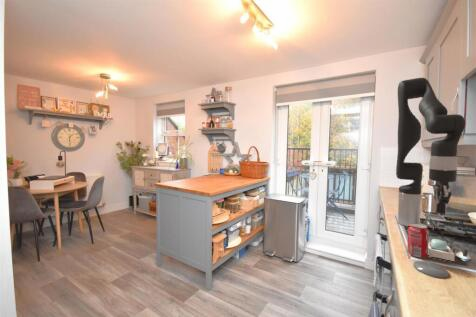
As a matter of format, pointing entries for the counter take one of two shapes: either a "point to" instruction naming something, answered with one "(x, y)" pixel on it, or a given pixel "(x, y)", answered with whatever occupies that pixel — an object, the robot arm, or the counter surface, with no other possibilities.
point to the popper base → (441, 253)
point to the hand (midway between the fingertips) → (440, 213)
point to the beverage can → (418, 240)
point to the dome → (439, 245)
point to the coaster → (431, 269)
